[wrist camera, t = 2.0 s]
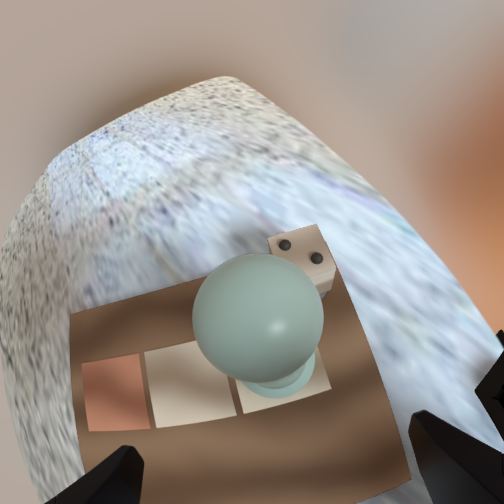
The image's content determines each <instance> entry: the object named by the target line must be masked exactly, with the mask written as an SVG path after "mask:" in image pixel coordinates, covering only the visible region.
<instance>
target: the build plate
mask: <svg viewBox="0 0 504 504" xmlns="http://www.w3.org/2000/svg"><path fill="white" fill-rule="evenodd" d="M495 336H496V337H497V339H498V340H499V342H500V344H501V346H502V347H503V349H504V331H503V330H502V329H501V330H499V331H498V332H497V334H496V335H495ZM475 393H476V395H477V396H478V398H479V399H480V401H481V403H482V404H483V406H484V408H485V409H486V411H487V413H488V414H489V416H490V418H491V419H492V421H493V423H494V424H495V426H496V428H497V430H498V432H499V433H500V435H501V437H502V439H503V441H504V351H503V352H502V354H501V355H500V357H499V358H498V360H497V361H496V362H495V364H494V365H493V367H492V368H491V369H490V371H489V372H488V373H487V375H486V376H485V377H484V379H483V380H482V381H481V382H480V384H479V385H478V386H477V387H476V389H475Z"/></svg>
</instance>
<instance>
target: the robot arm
mask: <svg viewBox="0 0 504 504" xmlns="http://www.w3.org/2000/svg"><path fill="white" fill-rule="evenodd" d="M408 433H409V437H410V440H411V444H412V447H413V450H414V454H415V457H416V461H417V464H418V467H419V471H420V473H421V476H422V478H423V480H424V483H425V485H426V487H427V490H428V492H429V495H430V497H431V499H432V502H433V504H504V453H503V454H502V453H501V452H500V451H498V450H496V449H494V448H492V447H490V446H488V445H487V444H485V443H483V442H481V441H479V440H477V439H475V438H474V437H472V436H470V435H468V434H466V433H465V432H463V431H461V430H459V429H458V428H456V427H454V426H452V425H451V424H449V423H447V422H445V421H444V420H442V419H440V418H438V417H437V416H435V415H433V414H432V413H430V412H428V411H426V410H421V411H418V412H415V413H413V415H412V417H411V421H410V425H409V429H408ZM143 473H144V460H143V458H142V457H141V455H140V454H139V452H138V451H137V449H136V448H135V447H134V446H130V445H122V446H120V447H119V448H118V449H117V450H115V451H114V452H113V453H112V454H110V455H109V456H108V457H107V458H105V459H104V460H103V461H102V462H100V463H99V464H98V465H97V466H95V467H94V468H93V469H91V470H90V471H89V472H87V473H86V474H85V475H84V476H82V477H81V478H80V479H78V480H77V481H76V482H74V483H73V484H72V485H70V486H69V487H67V488H66V489H65V490H63V491H62V492H61V493H59V494H58V495H57V496H55V497H53V498H52V499H51V500H49V501H48V502H46V503H45V504H140V499H141V491H142V482H143Z"/></svg>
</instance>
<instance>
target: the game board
mask: <svg viewBox="0 0 504 504" xmlns="http://www.w3.org/2000/svg"><path fill="white" fill-rule="evenodd" d="M267 240H268V246H269V251H270V254H271V255H275V256H278V257H281V258H284V259H286V260H288V261H290V262H292V263H294V264H295V265H296V266H298V267H299V268H300V269H301V270H303V271H304V272H305V273H306V274H307V276H308V277H309V278H310V279H311V280H312V282H313V283H314V285H315V286H316V289H317V291H318V293H319V295H320V298H321V302H322V306H323V313H324V322H323V330H322V334H321V338H320V341H319V343H318V345H317V348H316V349H315V351H314V352H315V366H314V370H313V373H312V375H311V377H310V379H309V381H308V382H307V384H306V385H305V386H304V387H303V388H302V389H301V390H299V391H298V392H297V393H295V394H293V395H291V396H288V397H285V398H278V399H272V398H266V397H262V396H260V395H258V394H255V393H254V392H252V391H251V390H249V389H248V388H247V387H246V386H245V385H244V384H243V382H242V381H240V380H237V379H234V378H231V377H229V376H227V375H225V374H223V373H222V372H221V371H219V370H218V369H216V368H215V367H214V366H213V365H212V364H211V363H210V362H209V361H208V360H207V359H206V357H205V356H204V355H203V353H202V351H201V350H200V348H199V346H198V343H197V341H196V339H195V335H194V331H193V324H192V312H193V305H194V301H195V298H196V295H197V293H198V291H199V289H200V287H201V285H202V283H203V282H204V280H205V279H206V278H207V277H208V276H206V277H203V278H199V279H196V280H192V281H189V282H185V283H182V284H178V285H175V286H171V287H168V288H164V289H161V290H157V291H154V292H150V293H147V294H143V295H139V296H136V297H132V298H129V299H125V300H121V301H118V302H114V303H111V304H107V305H103V306H100V307H96V308H93V309H89V310H85V311H82V312H78V313H74V314H71V315H70V367H71V383H72V395H73V405H74V413H75V421H76V428H77V434H78V440H79V446H80V451H81V456H82V461H83V465H84V470H85V474H86V473H87V472H89V471H90V470H91V469H93V468H94V467H95V466H97V465H98V464H99V463H100V462H102V461H103V460H104V459H105V458H107V457H108V456H109V455H110V454H112V453H113V452H114V451H115V450H117V449H118V448H119V447H120V446H122V445H130V446H134V447H135V448H136V449H137V451H138V452H139V454H140V455H141V457H142V458H143V460H144V473H143V482H142V491H141V499H140V504H356V503H359V502H362V501H364V500H367V499H369V498H372V497H374V496H377V495H379V494H381V493H384V492H386V491H388V490H390V489H393V488H395V487H397V486H399V485H401V484H403V483H405V482H407V481H409V480H411V475H410V471H409V467H408V463H407V459H406V456H405V452H404V448H403V445H402V441H401V438H400V435H399V431H398V428H397V425H396V421H395V418H394V415H393V412H392V409H391V406H390V403H389V399H388V396H387V393H386V390H385V388H384V385H383V382H382V379H381V376H380V373H379V370H378V368H377V365H376V362H375V359H374V357H373V354H372V351H371V348H370V346H369V343H368V341H367V338H366V335H365V333H364V330H363V328H362V325H361V323H360V320H359V318H358V315H357V313H356V310H355V308H354V305H353V303H352V300H351V298H350V296H349V293H348V291H347V289H346V286H345V284H344V282H343V279H342V277H341V275H340V272H339V270H338V268H337V266H336V263H335V261H334V259H333V257H332V254H331V252H330V250H329V248H328V246H327V243H326V241H324V239H323V236H322V234H321V232H320V230H319V228H318V226H317V224H314V225H310V226H307V227H303V228H300V229H296V230H293V231H290V232H286V233H283V234H279V235H276V236H272V237H269V238H267Z"/></svg>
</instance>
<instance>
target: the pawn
mask: <svg viewBox="0 0 504 504" xmlns="http://www.w3.org/2000/svg"><path fill="white" fill-rule="evenodd" d="M323 322H324V313H323V306H322V302H321V298H320V295H319V293H318V291H317V289H316V286H315V285H314V283H313V282H312V280H311V279H310V278H309V277H308V276H307V274H306V273H305V272H304V271H303V270H301V269H300V268H299V267H298V266H296V265H295V264H294V263H292V262H290V261H288V260H286V259H284V258H281V257H278V256H275V255H271V254H264V253H252V254H245V255H241V256H238V257H235V258H232V259H230V260H228V261H226V262H224V263H223V264H221V265H220V266H218V267H217V268H216V269H215V270H213V271H212V272H211V273H210V274H209V275H208V277H207V278H206V279H205V280H204V282H203V283H202V285H201V287H200V289H199V291H198V293H197V295H196V298H195V301H194V305H193V312H192V324H193V331H194V335H195V339H196V341H197V343H198V346H199V348H200V350H201V351H202V353H203V355H204V356H205V357H206V359H207V360H208V361H209V362H210V363H211V364H212V365H213V366H214V367H215V368H216V369H218V370H219V371H221V372H222V373H223V374H225V375H227V376H229V377H231V378H234V379H237V380H240V381H242V382H243V384H244V385H245V386H246V387H247V388H248V389H249V390H251V391H252V392H254V393H255V394H258V395H260V396H262V397H266V398H272V399H278V398H285V397H288V396H291V395H293V394H295V393H297V392H298V391H299V390H301V389H302V388H303V387H304V386H305V385H306V384H307V382H308V381H309V379H310V377H311V375H312V373H313V370H314V366H315V352H314V351H315V349H316V348H317V345H318V343H319V341H320V338H321V334H322V330H323Z"/></svg>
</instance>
